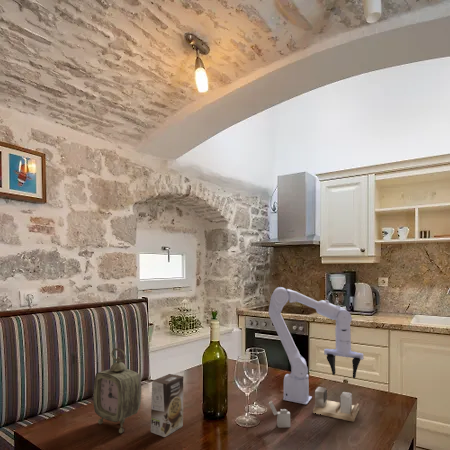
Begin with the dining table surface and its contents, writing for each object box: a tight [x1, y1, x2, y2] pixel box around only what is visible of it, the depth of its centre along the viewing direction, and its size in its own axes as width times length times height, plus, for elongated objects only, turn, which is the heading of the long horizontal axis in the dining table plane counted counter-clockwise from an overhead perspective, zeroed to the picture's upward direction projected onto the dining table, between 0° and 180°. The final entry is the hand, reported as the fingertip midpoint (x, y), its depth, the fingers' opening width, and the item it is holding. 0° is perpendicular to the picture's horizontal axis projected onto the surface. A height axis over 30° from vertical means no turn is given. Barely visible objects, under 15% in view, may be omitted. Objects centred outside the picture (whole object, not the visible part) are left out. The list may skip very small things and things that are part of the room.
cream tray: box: [312, 386, 360, 422], centre depth 132 cm, size 14×11×7 cm
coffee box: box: [150, 373, 184, 438], centre depth 119 cm, size 9×6×16 cm
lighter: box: [268, 400, 291, 428], centre depth 121 cm, size 7×2×8 cm, turn 93°
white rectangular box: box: [339, 391, 353, 414], centre depth 130 cm, size 3×5×6 cm, turn 151°
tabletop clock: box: [92, 347, 142, 434], centre depth 122 cm, size 14×9×25 cm, turn 55°
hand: (343, 375), depth 141 cm, fingers open, 7 cm apart
